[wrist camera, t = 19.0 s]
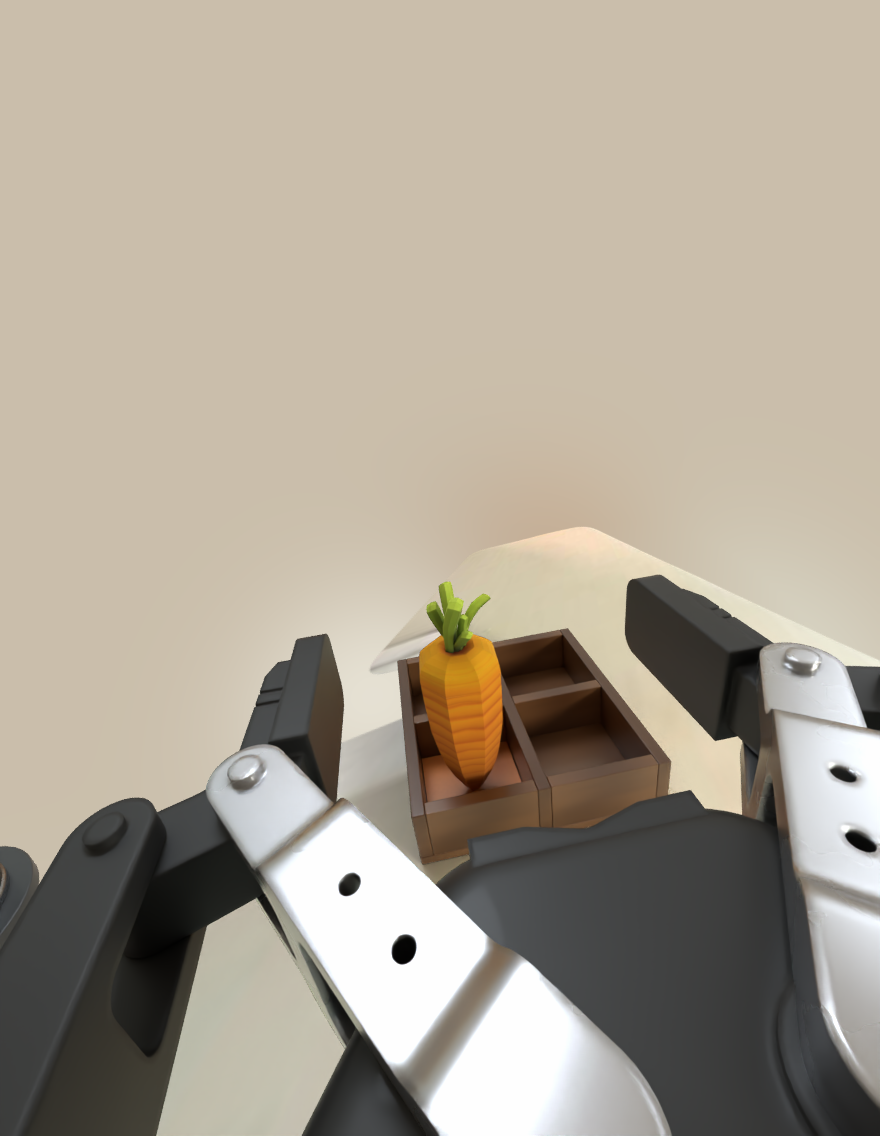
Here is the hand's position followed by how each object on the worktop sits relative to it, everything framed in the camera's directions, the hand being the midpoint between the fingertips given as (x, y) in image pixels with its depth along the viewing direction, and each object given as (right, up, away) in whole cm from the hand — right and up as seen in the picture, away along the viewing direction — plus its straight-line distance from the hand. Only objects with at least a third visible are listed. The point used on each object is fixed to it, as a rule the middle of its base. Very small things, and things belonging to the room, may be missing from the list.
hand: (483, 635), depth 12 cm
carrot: (+1, -13, +19) cm, 23 cm away
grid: (+4, -12, +23) cm, 26 cm away
